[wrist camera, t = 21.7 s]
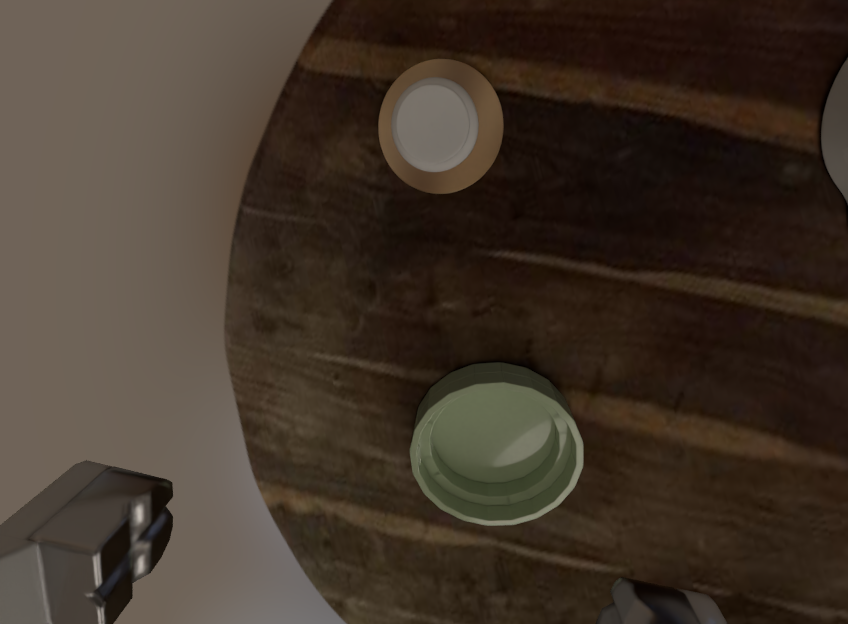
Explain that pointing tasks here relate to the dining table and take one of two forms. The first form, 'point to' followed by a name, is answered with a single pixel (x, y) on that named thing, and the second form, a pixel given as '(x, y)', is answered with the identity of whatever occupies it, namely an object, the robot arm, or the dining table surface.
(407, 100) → the pill bottle
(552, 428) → the bowl
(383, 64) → the dining table surface
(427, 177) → the coaster
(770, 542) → the dining table surface
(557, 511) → the dining table surface
